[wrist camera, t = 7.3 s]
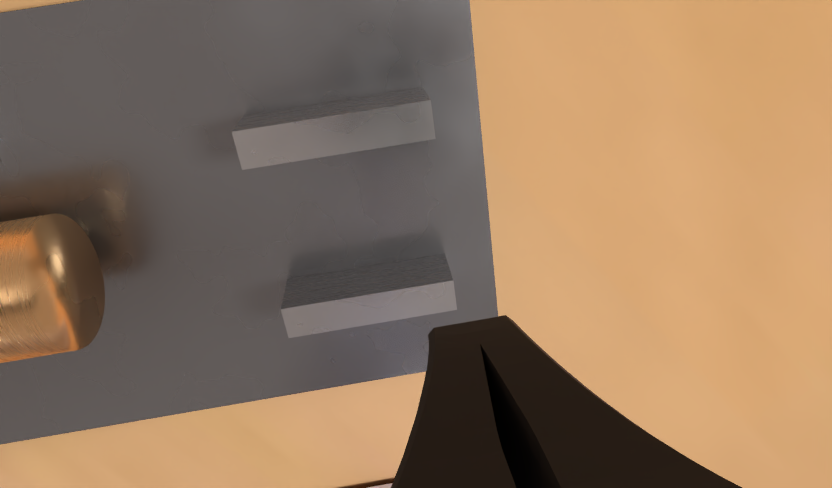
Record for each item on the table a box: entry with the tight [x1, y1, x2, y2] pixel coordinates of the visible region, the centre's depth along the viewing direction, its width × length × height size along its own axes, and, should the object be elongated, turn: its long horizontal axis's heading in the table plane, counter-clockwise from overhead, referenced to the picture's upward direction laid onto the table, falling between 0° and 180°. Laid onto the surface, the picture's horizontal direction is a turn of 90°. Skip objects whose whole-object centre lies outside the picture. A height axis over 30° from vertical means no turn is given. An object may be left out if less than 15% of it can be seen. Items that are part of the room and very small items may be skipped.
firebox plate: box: [0, 0, 498, 444], centre depth 17 cm, size 13×27×3 cm, turn 98°
